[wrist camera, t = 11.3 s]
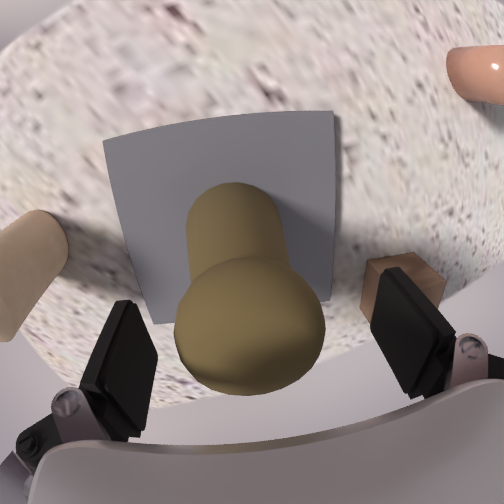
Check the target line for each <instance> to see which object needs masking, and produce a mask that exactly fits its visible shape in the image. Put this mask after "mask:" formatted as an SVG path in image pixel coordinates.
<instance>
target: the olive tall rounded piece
mask: <svg viewBox="0 0 504 504" xmlns="http://www.w3.org/2000/svg"><path fill="white" fill-rule="evenodd" d="M186 236H187V248H188V259H189V270H190V279H191V285H190V286H189V288H188V290H187V291H186V293H185V294H184V296H183V298H182V299H181V301H180V302H179V304H178V308H177V313H176V320H175V326H174V333H173V334H174V339H175V344H176V347H177V351H178V354H179V357H180V360H181V362H182V363H183V365H184V366H185V367H186V368H187V370H188V371H189V372H190V373H191V374H192V376H193V377H194V378H195V379H196V380H197V381H198V382H199V383H201V384H203V385H205V386H206V387H208V388H210V389H211V390H214V391H218V392H221V393H225V394H228V395H242V396H251V395H260V394H266V393H269V392H273V391H276V390H279V389H282V388H284V387H286V386H288V385H290V384H292V383H294V382H295V381H297V380H299V379H300V378H301V377H302V376H303V375H305V374H306V373H307V372H308V371H309V370H310V369H311V368H312V367H313V365H314V363H315V362H316V360H317V359H318V357H319V355H320V352H321V349H322V346H323V342H324V336H325V331H326V328H325V319H324V315H323V311H322V307H321V304H320V301H319V299H318V297H317V295H316V293H315V292H314V290H313V289H312V288H311V287H310V286H309V284H308V283H307V282H306V281H305V279H304V278H303V277H302V276H301V275H299V274H298V273H297V272H296V271H295V270H293V269H291V266H290V261H289V256H288V251H287V247H286V242H285V237H284V233H283V228H282V224H281V219H280V216H279V213H278V210H277V207H276V205H275V204H274V202H273V201H272V200H271V199H270V197H269V196H268V195H267V194H266V193H265V192H263V191H261V190H260V189H258V188H257V187H255V186H253V185H249V184H245V183H241V182H232V183H222V184H219V185H217V186H215V187H212V188H210V189H208V190H206V191H205V192H204V193H203V194H202V195H201V196H199V197H198V198H197V199H196V200H195V202H194V204H193V205H192V207H191V209H190V210H189V212H188V217H187V222H186Z"/></svg>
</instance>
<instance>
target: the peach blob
mask: <svg viewBox="0 0 504 504" xmlns="http://www.w3.org/2000/svg"><path fill="white" fill-rule="evenodd" d="M446 67H447V73H448V76H449V79H450V82H451V84H452V86H453V88H454V89H455V91H456V92H457V94H458V95H459V96H460V97H462V98H463V99H465V100H469V101H477V102H484V103H491V104H497V105H503V106H504V45H491V46H470V47H458V48H452V49H451V50H450V51H449V52H448V55H447V59H446Z"/></svg>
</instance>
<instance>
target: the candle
mask: <svg viewBox="0 0 504 504" xmlns="http://www.w3.org/2000/svg"><path fill="white" fill-rule="evenodd" d="M67 258H68V242H67V238H66V235H65V233H64V231H63V229H62V227H61V226H60V224H59V223H58V222H57V221H56V219H55V218H53V217H52V216H51V215H50V214H48V213H46V212H44V211H40V210H34V211H30V212H28V213H26V214H24V215H23V216H21V217H20V218H18V219H17V220H15V221H14V222H13V223H11V224H10V225H9V226H7V227H6V228H4V229H3V230H2V231H0V342H8V341H11V340H12V339H13V337H14V336H15V334H16V332H17V331H18V330H19V328H20V326H21V325H22V323H23V322H24V320H25V319H26V317H27V316H28V314H29V313H30V311H31V310H32V309H33V307H34V306H35V304H36V303H37V302H38V300H39V299H40V297H41V296H42V295H43V293H44V292H45V291H46V289H47V288H48V287H49V285H50V284H51V283H52V281H53V280H54V279H55V278H56V276H57V275H58V274H59V272H60V271H61V270H62V268H63V267H64V265H65V263H66V261H67Z"/></svg>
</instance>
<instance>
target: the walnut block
mask: <svg viewBox="0 0 504 504" xmlns="http://www.w3.org/2000/svg"><path fill="white" fill-rule="evenodd" d="M392 267H400V268H401V269H402V270H403V271H404V272H405V273H406V274H407V275H408V277H409V278H410V279H411V280H412V281H413V282H414V283H415V284H416V285H417V286H418V288H419V289H420V290H421V291H422V292H423V293H424V294H425V295H426V297H427V298H428V299H429V300H430V301H431V302H432V303H433V305H434V306H435V307H436V308H437V309H438V307H439V304H440V301H441V298H442V295H443V292H444V289H445V286H446V283H447V281H446V280H444V279H443V278H442V277H441V276H440V275H439V274H438V273H437V272H436V271H435V270H434V269H432V268H431V267H430V266H429V265H428V264H427V263H426V262H425V261H423V260H422V259H421V258H420V257H419V256H418V255H416V254H415V253H414V252H412V253H406V254H400V255H394V256H389V257H383V258H377V259H370V260H367V265H366V272H365V279H364V285H363V291H362V297H361V303H360V309H361V311H362V312H363V314H364V316H365V317H366V319H367V320H368V322H369V323H371V319H372V314H373V310H374V305H375V300H376V295H377V290H378V284H379V279H380V275H381V273H383V272H384V270H385V269H386V268H392Z"/></svg>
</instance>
